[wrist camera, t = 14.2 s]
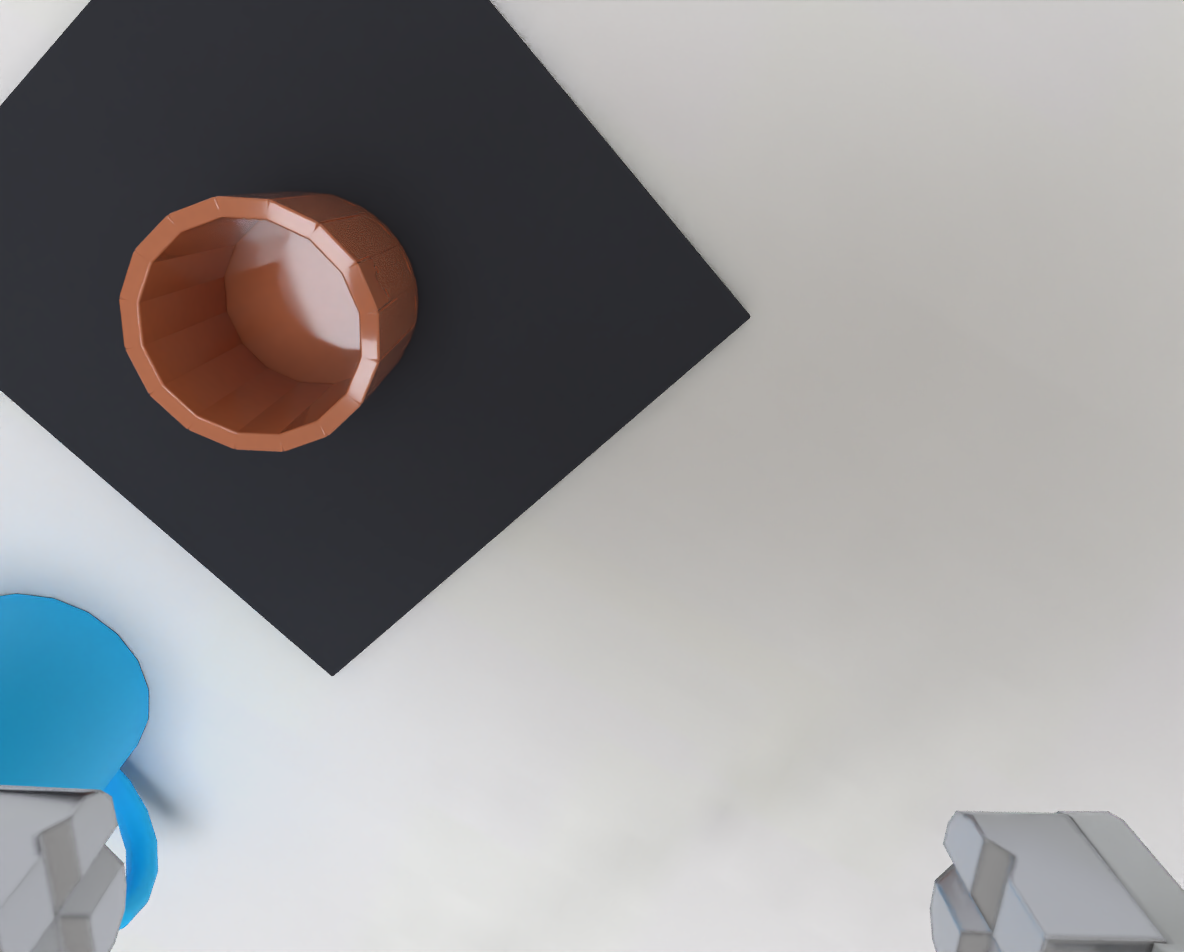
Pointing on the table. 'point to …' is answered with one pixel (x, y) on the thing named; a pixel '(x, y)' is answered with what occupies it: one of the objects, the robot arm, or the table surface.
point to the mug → (75, 718)
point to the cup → (267, 315)
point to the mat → (425, 231)
